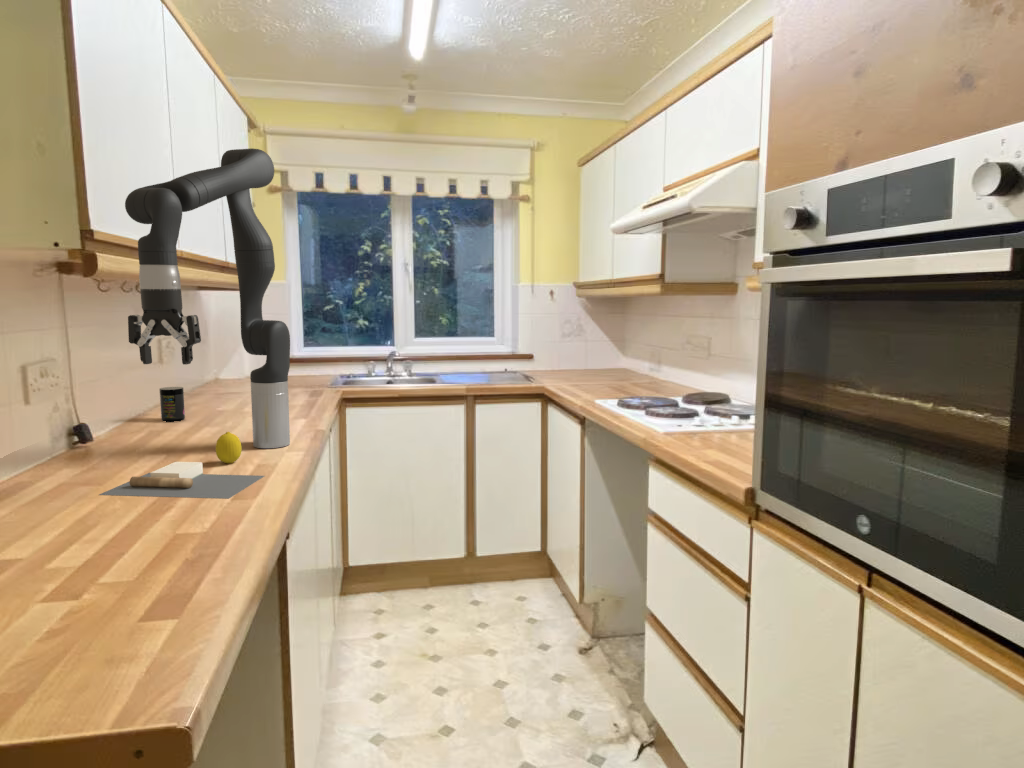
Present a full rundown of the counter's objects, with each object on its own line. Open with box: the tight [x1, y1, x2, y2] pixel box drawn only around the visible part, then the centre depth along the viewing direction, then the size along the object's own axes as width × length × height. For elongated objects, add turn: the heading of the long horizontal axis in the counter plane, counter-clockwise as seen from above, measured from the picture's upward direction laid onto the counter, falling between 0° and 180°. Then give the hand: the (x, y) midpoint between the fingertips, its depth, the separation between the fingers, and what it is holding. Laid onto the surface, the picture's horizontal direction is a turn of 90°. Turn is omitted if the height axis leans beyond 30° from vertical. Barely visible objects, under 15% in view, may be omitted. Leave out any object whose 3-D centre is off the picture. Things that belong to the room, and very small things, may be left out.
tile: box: [150, 461, 204, 479], centre depth 134 cm, size 2×6×9 cm
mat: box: [98, 472, 265, 500], centre depth 130 cm, size 16×26×1 cm, turn 87°
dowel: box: [129, 476, 193, 488], centre depth 128 cm, size 2×12×2 cm, turn 87°
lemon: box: [215, 431, 243, 465], centre depth 147 cm, size 6×6×8 cm
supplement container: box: [159, 386, 186, 423], centre depth 199 cm, size 7×7×10 cm
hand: (167, 363), depth 134 cm, fingers open, 8 cm apart
